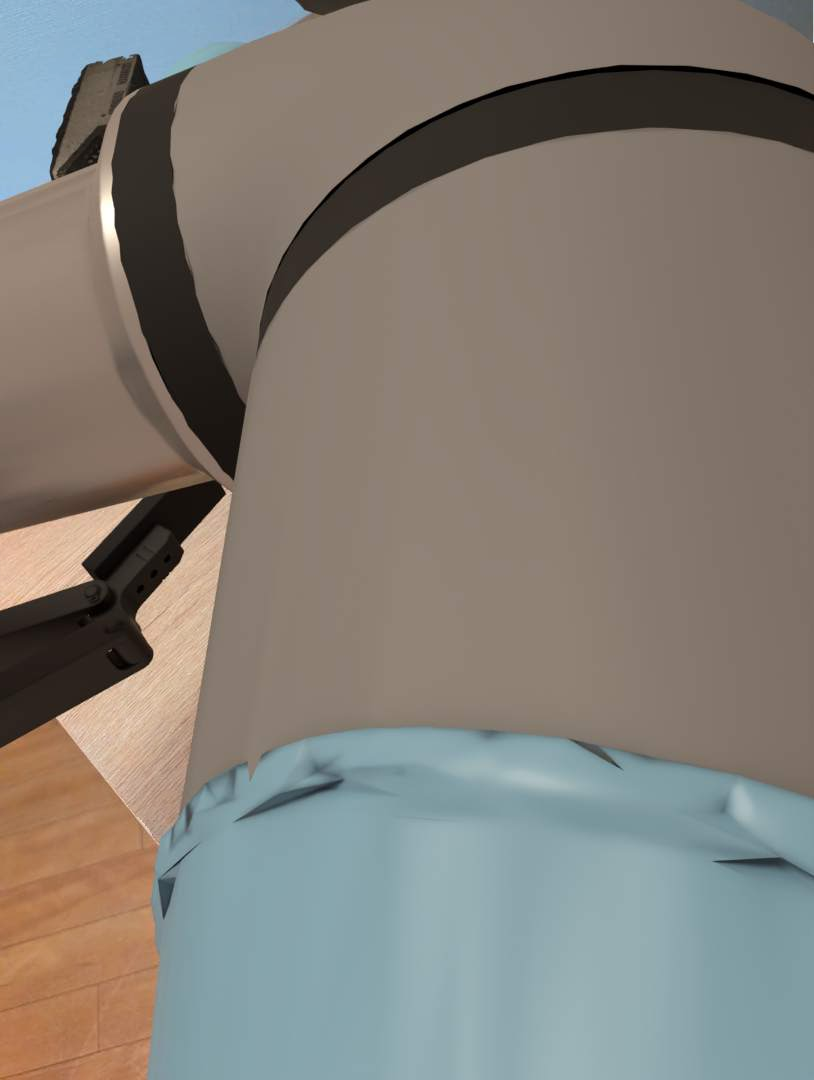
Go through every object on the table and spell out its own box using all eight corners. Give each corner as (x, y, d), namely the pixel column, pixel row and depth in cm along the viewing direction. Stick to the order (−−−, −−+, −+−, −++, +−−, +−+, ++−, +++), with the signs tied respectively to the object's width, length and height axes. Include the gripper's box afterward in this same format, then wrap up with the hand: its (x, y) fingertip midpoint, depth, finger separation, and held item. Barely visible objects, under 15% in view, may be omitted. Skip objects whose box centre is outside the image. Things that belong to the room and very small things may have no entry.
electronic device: (40, 174, 87) (109, 162, 86) (79, 61, 97) (141, 49, 96) (100, 281, 97) (162, 271, 96) (130, 168, 107) (187, 158, 106)
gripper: (-363, 704, 47) (-22, 391, 55) (-36, 1034, 35) (336, 573, 43) (-512, 619, 41) (-106, 282, 49) (-179, 982, 29) (283, 459, 37)
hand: (102, 418), depth 46 cm, fingers open, 13 cm apart
